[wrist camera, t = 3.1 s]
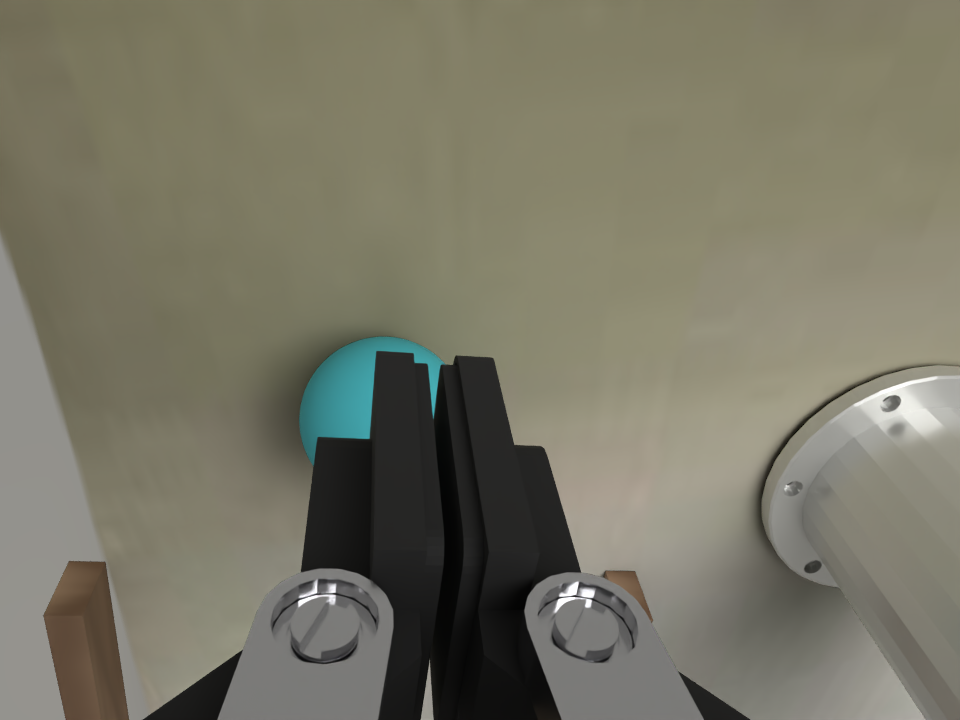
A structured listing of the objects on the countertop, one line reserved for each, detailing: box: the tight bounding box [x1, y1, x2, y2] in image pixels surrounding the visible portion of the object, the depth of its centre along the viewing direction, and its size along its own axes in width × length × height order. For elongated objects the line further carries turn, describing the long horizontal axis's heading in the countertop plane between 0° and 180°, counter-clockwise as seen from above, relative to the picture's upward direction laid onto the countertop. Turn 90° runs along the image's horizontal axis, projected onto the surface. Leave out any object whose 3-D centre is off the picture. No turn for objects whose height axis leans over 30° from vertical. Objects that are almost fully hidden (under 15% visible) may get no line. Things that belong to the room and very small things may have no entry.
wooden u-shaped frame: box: [44, 561, 653, 720], centre depth 39 cm, size 26×17×3 cm, turn 83°
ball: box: [299, 337, 445, 466], centre depth 28 cm, size 6×6×6 cm
